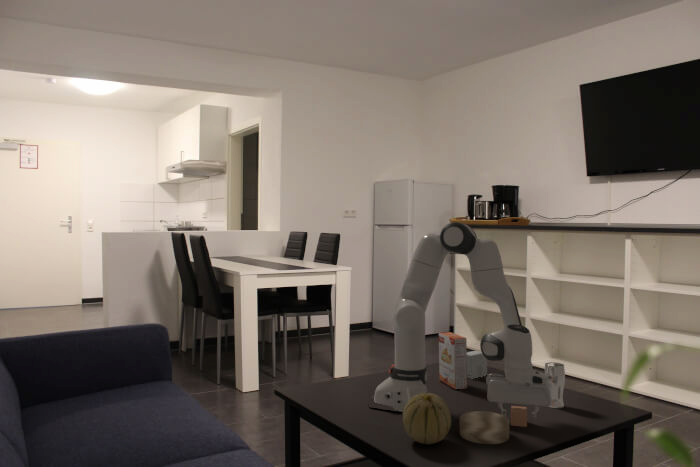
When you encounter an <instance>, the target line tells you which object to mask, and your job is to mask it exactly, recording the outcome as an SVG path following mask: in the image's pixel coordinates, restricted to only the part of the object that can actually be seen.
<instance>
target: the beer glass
mask: <svg viewBox="0 0 700 467" xmlns="http://www.w3.org/2000/svg"><path fill="white" fill-rule="evenodd" d="M565 370H566V369H565V364H564V363H560V362H552V361H551V362H545V363H544V374H545V375H546V377H547V383H548V385H549V389H550V394H551V405H550V406H549V407H548V408H551V409H563V408H564V407H565V404H564V399H563V398H564V396H563V395H564V390H565V384H566V383H565V382H566V371H565Z"/></svg>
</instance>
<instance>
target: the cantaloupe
mask: <svg viewBox="0 0 700 467" xmlns="http://www.w3.org/2000/svg"><path fill="white" fill-rule="evenodd" d="M402 424H403V427H404V430H405V432H406V434H407V435H408V436H409V438H411V440H413V441H415V442H416V443H419V444H422V445H433V444H436V443H440V442H441V441H442V440H444V438H445V437H446V436H448V434H449V431H450V429H451V426H452V416H451V410H450V407H449V406H448V404H447V402H446V401H445V400H444V399H443V398H442V397H441V396H439V395H437V394H435V393H432V392H427V393H421V394H418V395H416V396H414V397H412V398H411V399H410V400H409V402H408V403H407V404H406V406H405V408H404V411H403V413H402Z"/></svg>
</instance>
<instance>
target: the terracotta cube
mask: <svg viewBox="0 0 700 467" xmlns="http://www.w3.org/2000/svg"><path fill="white" fill-rule="evenodd" d="M510 426H513V427H514V426H515V427H523V428H526V427H528V407H527V406H520V405H519V406H517V405H511V407H510Z"/></svg>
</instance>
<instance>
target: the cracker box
mask: <svg viewBox="0 0 700 467" xmlns="http://www.w3.org/2000/svg"><path fill="white" fill-rule="evenodd" d="M467 347H468V346H467V337H465V336H463V335H459V334H457V333H453V332H451V331H448V332H446V331H445V332H439V333H438V364H439V365H438V368H439V370H438V371H439V373H438V374H439V381H440V380H441V381H443V382H444V383H446V384H447V385H449V386H451V387H452V388H454V389H460V390H465V389H464V388H467V389H468V379H467V352H468V351H467ZM444 383H443V384H444ZM447 385H446V386H447ZM449 386H448V387H449ZM451 387H450V388H451ZM452 388H451V389H452ZM454 389H453V390H454Z"/></svg>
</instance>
